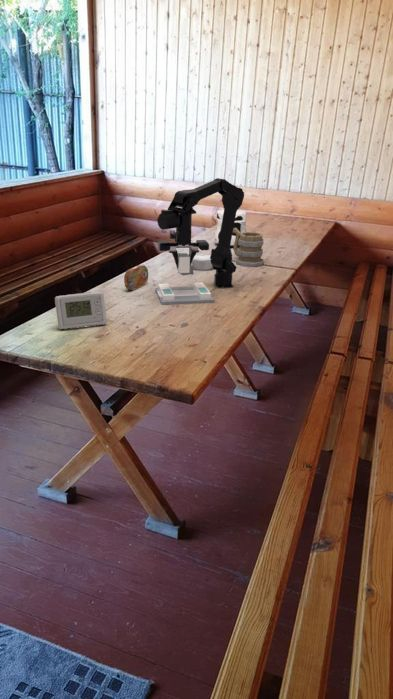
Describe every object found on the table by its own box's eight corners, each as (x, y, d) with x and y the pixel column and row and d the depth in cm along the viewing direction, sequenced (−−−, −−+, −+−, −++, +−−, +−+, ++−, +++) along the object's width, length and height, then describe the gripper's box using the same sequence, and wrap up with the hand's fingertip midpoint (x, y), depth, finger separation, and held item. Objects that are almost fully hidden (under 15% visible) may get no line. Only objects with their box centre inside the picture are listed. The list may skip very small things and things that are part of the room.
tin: (129, 292, 216) (129, 272, 212) (123, 291, 217) (122, 270, 214) (149, 283, 228) (148, 263, 225) (142, 282, 229) (142, 262, 226)
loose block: (187, 271, 247) (187, 262, 245) (193, 274, 243) (193, 265, 241) (177, 272, 244) (177, 264, 243) (183, 275, 240) (183, 266, 239)
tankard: (268, 264, 261) (270, 233, 255) (247, 268, 254) (249, 235, 248) (241, 255, 276) (243, 225, 270) (221, 258, 269) (223, 228, 263)
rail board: (203, 288, 223) (204, 280, 222) (214, 302, 207) (214, 294, 206) (155, 290, 219) (155, 282, 218) (161, 304, 203) (161, 296, 202)
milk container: (212, 241, 303) (213, 208, 296) (242, 241, 305) (244, 208, 298) (216, 248, 288) (217, 214, 281) (248, 248, 290) (251, 214, 282)
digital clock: (56, 331, 177) (54, 300, 173) (57, 321, 185) (55, 291, 181) (107, 329, 180) (106, 298, 176) (106, 319, 188) (104, 289, 184)
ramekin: (209, 264, 259) (209, 253, 257) (217, 270, 249) (218, 259, 247) (186, 265, 255) (187, 254, 253) (194, 272, 246) (194, 260, 244)
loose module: (186, 268, 213) (187, 253, 211) (189, 272, 208) (189, 257, 205) (176, 268, 213) (176, 253, 210) (179, 273, 207) (179, 257, 205)
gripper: (204, 222, 212) (202, 261, 219) (156, 222, 209) (156, 262, 215) (210, 228, 202) (208, 269, 209) (159, 228, 199) (159, 270, 205)
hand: (183, 267), depth 210 cm, fingers closed on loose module, 4 cm apart
